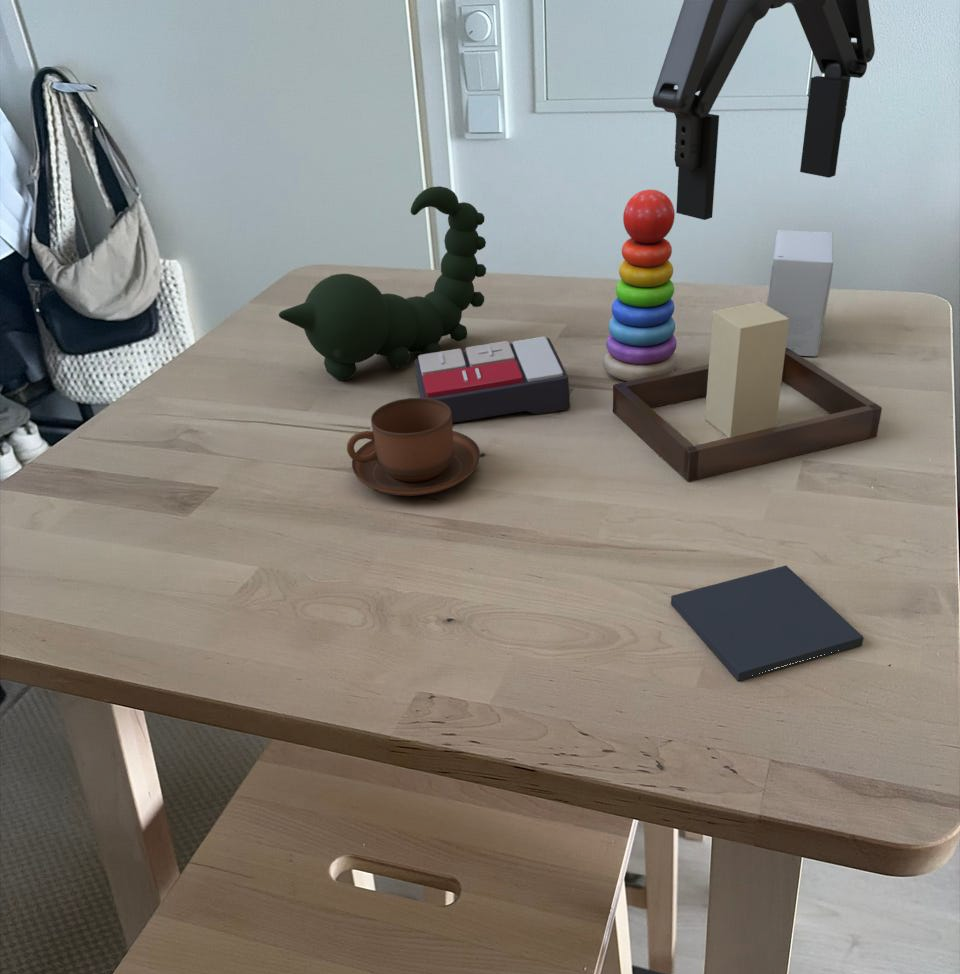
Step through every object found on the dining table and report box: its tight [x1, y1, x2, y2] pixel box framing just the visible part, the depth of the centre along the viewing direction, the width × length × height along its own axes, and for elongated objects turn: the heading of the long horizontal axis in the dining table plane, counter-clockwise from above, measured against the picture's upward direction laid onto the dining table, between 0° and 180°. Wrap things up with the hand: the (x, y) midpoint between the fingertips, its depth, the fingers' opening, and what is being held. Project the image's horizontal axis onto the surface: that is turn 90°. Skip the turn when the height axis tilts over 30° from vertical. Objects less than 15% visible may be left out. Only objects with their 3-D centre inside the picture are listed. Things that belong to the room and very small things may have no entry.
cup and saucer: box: [346, 397, 481, 497], centre depth 95 cm, size 12×12×6 cm
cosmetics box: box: [765, 229, 834, 357], centre depth 114 cm, size 10×6×10 cm, turn 165°
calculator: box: [413, 336, 571, 424], centre depth 109 cm, size 11×4×15 cm
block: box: [704, 301, 789, 438], centre depth 98 cm, size 5×5×11 cm
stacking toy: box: [603, 189, 678, 382], centre depth 107 cm, size 8×8×19 cm
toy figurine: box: [278, 185, 487, 381], centre depth 113 cm, size 9×19×25 cm
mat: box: [670, 565, 864, 682], centre depth 76 cm, size 10×10×1 cm
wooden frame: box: [612, 348, 883, 483], centre depth 100 cm, size 20×16×3 cm
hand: (758, 194), depth 76 cm, fingers open, 13 cm apart
